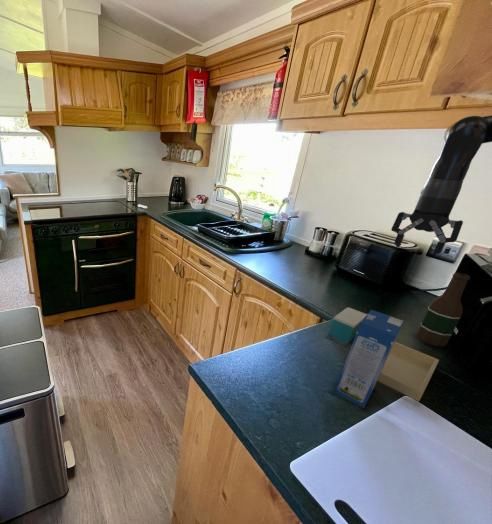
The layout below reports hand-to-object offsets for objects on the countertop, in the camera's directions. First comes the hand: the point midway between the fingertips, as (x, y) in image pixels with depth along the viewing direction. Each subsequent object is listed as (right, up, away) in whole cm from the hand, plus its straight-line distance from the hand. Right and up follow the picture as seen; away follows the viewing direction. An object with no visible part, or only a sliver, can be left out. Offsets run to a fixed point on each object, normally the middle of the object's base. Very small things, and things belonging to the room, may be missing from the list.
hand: (415, 250), depth 87 cm
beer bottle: (+13, -30, +9) cm, 34 cm away
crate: (-13, -34, -6) cm, 36 cm away
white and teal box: (-16, -28, +9) cm, 33 cm away
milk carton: (-29, -36, -15) cm, 49 cm away
